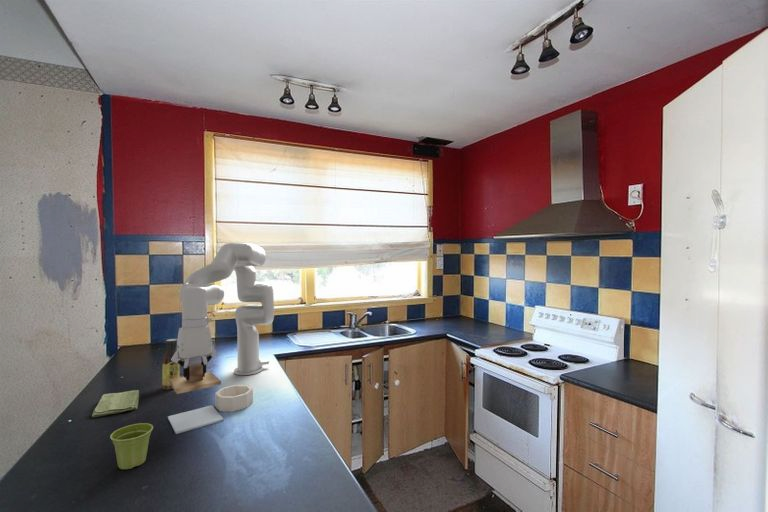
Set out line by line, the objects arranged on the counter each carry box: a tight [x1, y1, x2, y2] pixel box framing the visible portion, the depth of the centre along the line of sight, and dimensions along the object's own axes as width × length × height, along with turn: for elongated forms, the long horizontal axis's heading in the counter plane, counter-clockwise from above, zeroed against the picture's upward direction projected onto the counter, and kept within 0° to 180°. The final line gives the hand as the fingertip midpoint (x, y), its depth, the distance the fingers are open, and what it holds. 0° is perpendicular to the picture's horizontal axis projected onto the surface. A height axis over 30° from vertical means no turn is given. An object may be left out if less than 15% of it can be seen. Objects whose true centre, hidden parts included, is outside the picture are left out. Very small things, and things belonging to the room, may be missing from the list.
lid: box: [169, 362, 222, 395], centre depth 122 cm, size 13×13×6 cm
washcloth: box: [91, 389, 140, 418], centre depth 133 cm, size 13×18×3 cm
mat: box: [167, 404, 224, 435], centre depth 122 cm, size 14×14×1 cm
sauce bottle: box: [161, 338, 181, 391], centre depth 150 cm, size 7×6×20 cm
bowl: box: [214, 384, 254, 413], centre depth 134 cm, size 12×12×5 cm
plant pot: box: [109, 422, 154, 470], centre depth 97 cm, size 9×9×9 cm
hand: (194, 376), depth 122 cm, fingers closed on lid, 4 cm apart
